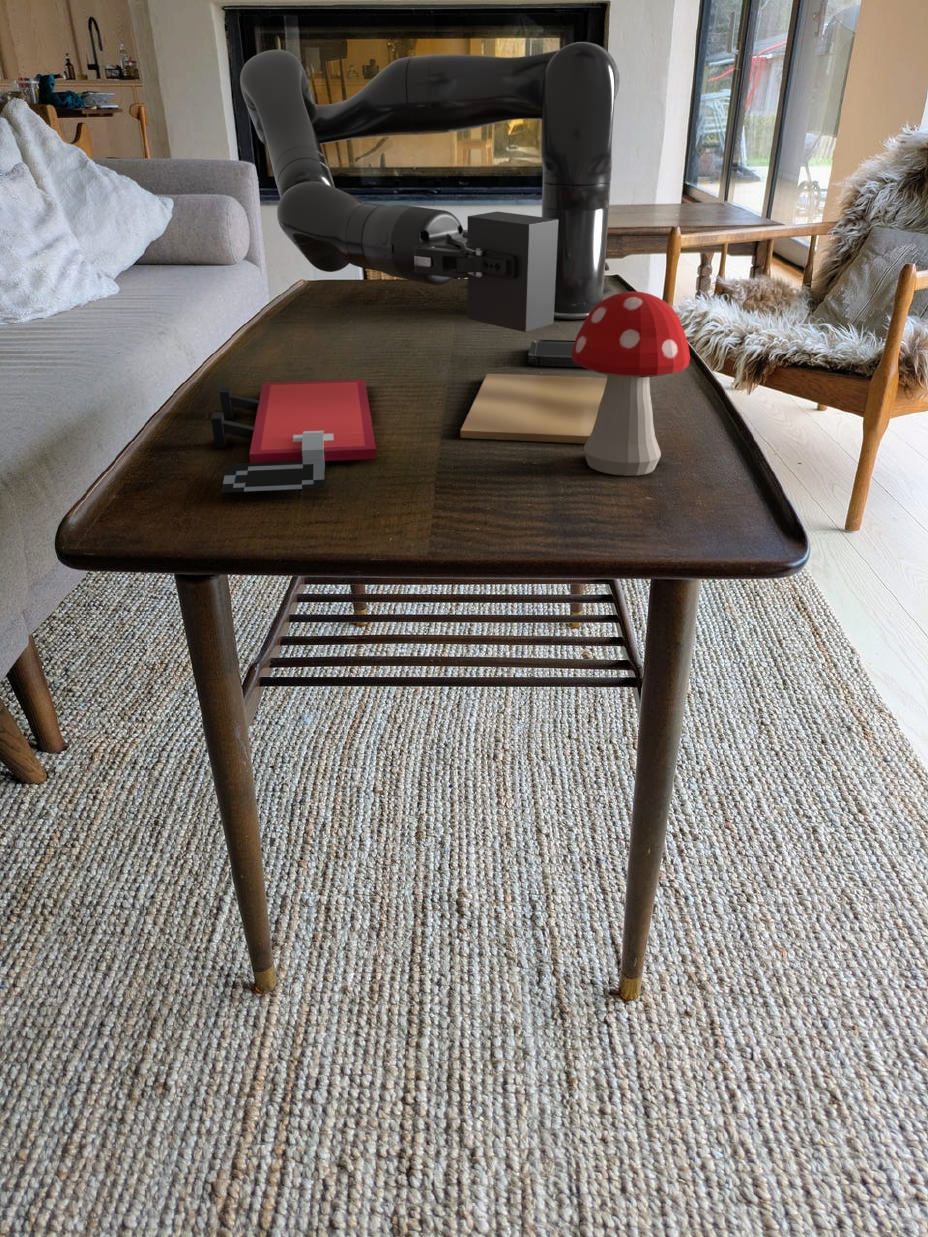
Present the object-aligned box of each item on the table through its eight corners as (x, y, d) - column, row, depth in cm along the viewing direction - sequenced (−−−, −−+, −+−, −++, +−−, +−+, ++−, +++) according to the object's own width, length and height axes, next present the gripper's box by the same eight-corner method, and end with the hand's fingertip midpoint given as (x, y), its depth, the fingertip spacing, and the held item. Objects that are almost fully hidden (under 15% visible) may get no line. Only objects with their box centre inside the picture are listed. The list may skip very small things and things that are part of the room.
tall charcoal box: (467, 318, 95) (467, 215, 90) (496, 311, 98) (498, 210, 93) (525, 332, 90) (529, 224, 85) (554, 323, 93) (559, 218, 88)
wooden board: (487, 380, 104) (487, 373, 103) (636, 385, 101) (637, 378, 101) (460, 437, 88) (460, 430, 87) (637, 446, 85) (638, 438, 85)
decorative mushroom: (554, 475, 79) (562, 299, 72) (578, 442, 86) (588, 278, 79) (668, 490, 76) (689, 307, 69) (683, 455, 83) (704, 285, 76)
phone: (532, 339, 114) (653, 342, 112) (532, 348, 115) (652, 351, 113) (527, 356, 108) (655, 359, 106) (527, 365, 108) (654, 369, 106)
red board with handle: (198, 504, 74) (381, 495, 76) (193, 471, 73) (380, 463, 75) (229, 396, 100) (365, 391, 102) (226, 371, 98) (364, 366, 100)
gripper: (458, 270, 106) (574, 291, 96) (366, 289, 97) (483, 315, 87) (457, 199, 102) (579, 214, 92) (361, 213, 93) (484, 231, 83)
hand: (532, 263), depth 89 cm, fingers closed on tall charcoal box, 4 cm apart
